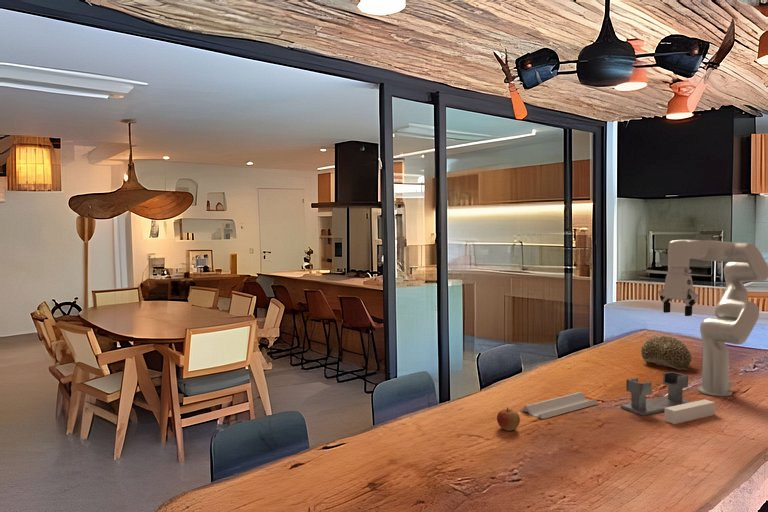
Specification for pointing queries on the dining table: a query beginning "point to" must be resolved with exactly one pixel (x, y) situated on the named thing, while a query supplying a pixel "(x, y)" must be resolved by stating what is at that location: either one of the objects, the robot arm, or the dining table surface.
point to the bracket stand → (658, 404)
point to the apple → (508, 419)
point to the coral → (666, 352)
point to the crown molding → (558, 405)
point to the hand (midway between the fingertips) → (677, 314)
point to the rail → (689, 411)
